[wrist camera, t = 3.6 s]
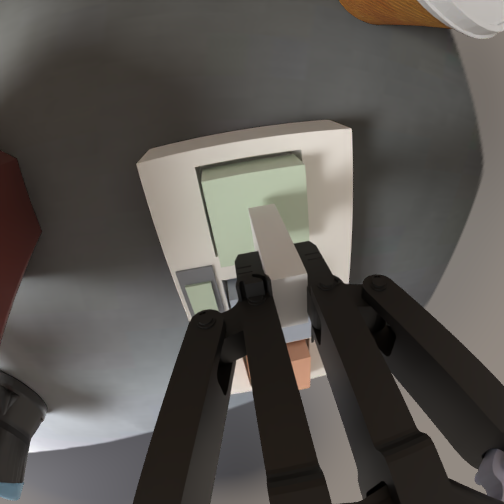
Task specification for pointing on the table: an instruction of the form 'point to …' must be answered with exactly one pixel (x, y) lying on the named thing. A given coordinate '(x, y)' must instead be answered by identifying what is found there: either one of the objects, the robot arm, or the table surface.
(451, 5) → the disposable coffee cup
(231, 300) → the slate key
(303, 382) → the terracotta key
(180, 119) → the table surface
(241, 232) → the sage key
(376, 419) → the robot arm
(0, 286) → the bucket
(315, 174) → the keypad
